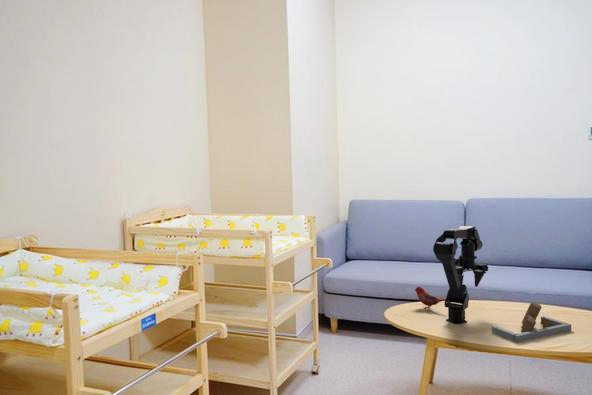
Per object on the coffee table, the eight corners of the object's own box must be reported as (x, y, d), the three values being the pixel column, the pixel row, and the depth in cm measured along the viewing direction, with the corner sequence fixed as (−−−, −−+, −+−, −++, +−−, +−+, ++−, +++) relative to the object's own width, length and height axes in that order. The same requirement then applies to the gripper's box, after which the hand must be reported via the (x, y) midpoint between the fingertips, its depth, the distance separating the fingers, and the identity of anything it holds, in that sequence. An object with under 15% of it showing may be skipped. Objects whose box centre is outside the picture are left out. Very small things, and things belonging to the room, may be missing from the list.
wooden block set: (530, 342, 202) (540, 321, 199) (510, 329, 208) (519, 308, 204) (548, 329, 215) (558, 309, 211) (528, 317, 220) (538, 297, 216)
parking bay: (517, 342, 196) (517, 336, 195) (491, 332, 207) (491, 326, 207) (571, 330, 207) (571, 324, 207) (544, 321, 219) (544, 316, 219)
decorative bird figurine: (416, 305, 250) (416, 285, 249) (449, 312, 237) (449, 290, 236) (413, 306, 248) (412, 286, 247) (446, 313, 235) (445, 292, 234)
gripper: (471, 249, 242) (471, 281, 243) (439, 253, 235) (439, 286, 236) (489, 252, 232) (489, 286, 233) (456, 256, 225) (456, 292, 226)
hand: (468, 287), depth 232 cm, fingers open, 9 cm apart
